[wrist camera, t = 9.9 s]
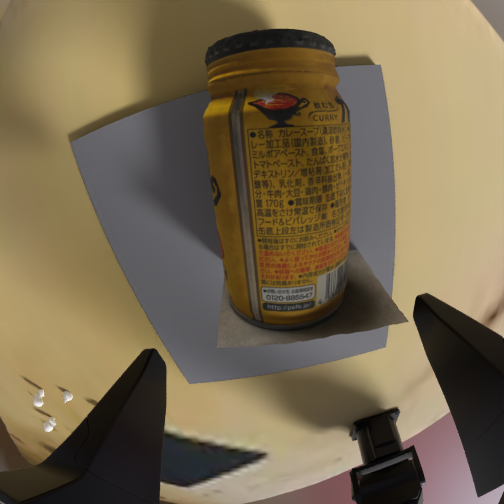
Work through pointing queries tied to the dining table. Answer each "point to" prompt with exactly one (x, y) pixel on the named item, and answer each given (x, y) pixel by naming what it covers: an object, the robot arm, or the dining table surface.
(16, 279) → the dining table surface
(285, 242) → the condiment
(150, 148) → the rubber mat
